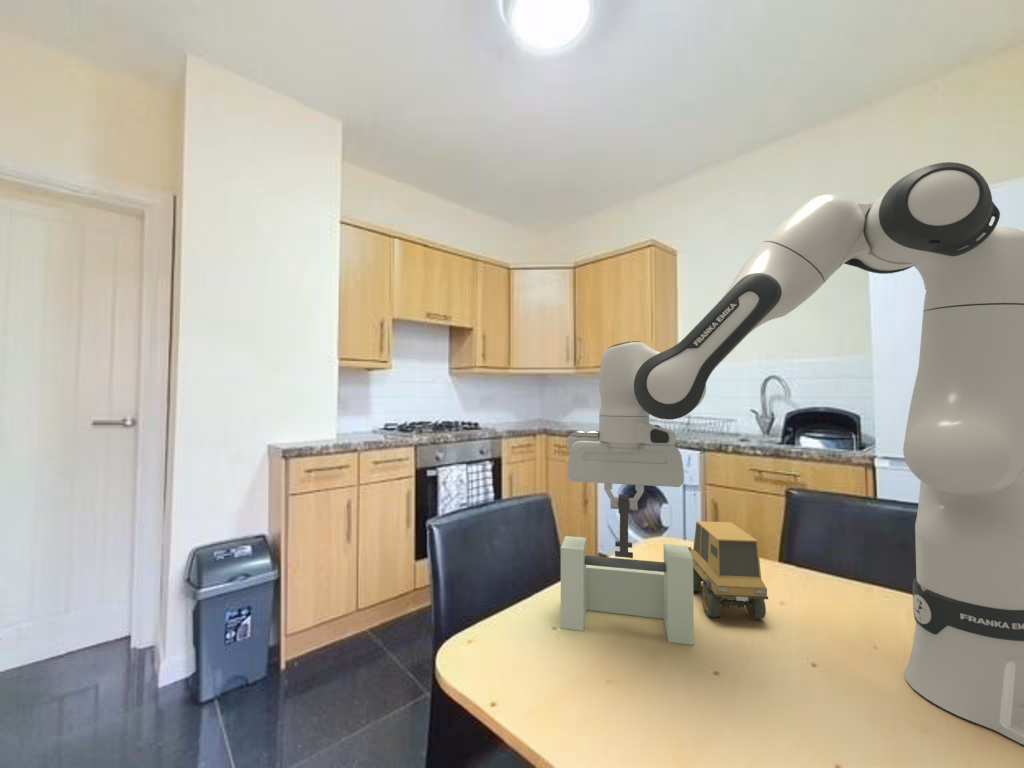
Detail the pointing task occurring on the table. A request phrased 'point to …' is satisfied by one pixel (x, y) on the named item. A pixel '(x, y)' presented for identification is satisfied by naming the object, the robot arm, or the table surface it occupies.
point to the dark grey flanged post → (623, 528)
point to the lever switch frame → (628, 588)
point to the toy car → (727, 569)
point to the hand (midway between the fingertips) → (623, 508)
